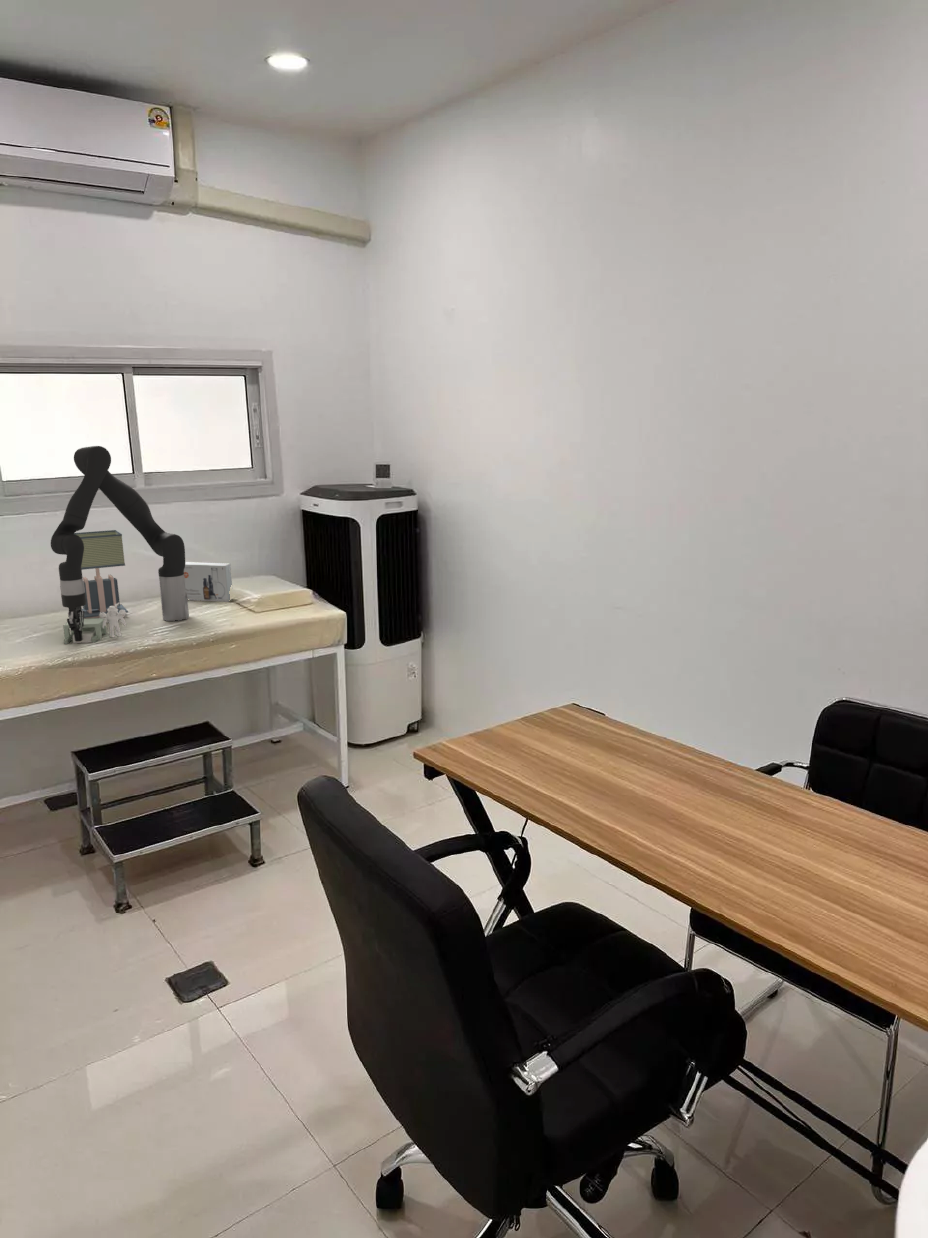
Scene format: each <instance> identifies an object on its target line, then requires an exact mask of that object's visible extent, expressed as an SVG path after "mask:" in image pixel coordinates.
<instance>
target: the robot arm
mask: <svg viewBox="0 0 928 1238" xmlns="http://www.w3.org/2000/svg"><path fill="white" fill-rule="evenodd" d="M73 461H74V465H75V466H76V468H77V469H78V471H80V472H81V474H83V475H84V476H83V479H82V480H81V482H80V483H79V486H78V487H77V488H76V490H75V491H74V492H73V494H72V495H71V497H70V499H69V501H68V503H67V506H66V508H65V512H64V515H63V518H62V520H61V522H60V523H59V524H58V526H57V527H56V529H55V530H54V533H53V534H52V536H51V539H50V549H51V550H52V552H53V553H55V554H57V555H61V556H62V555H65V556H66V560H65V561H63V562H60V563H59V564H58V574H59V575H58V576H59V589H60V590H59V591H60V596H61V605H62V607H63V608H68V612H67V616H68V618H66V622H68V625H69V627H70V628H69V630H70V629H71V630H70V632H71V631H74V637H75V641H76V642H78V641H82V640H83V637H82V627H83V626H84V615H85V612H84V611H83V610H82V609H83V606H84V605H86V595H85V587H84V582H83V577H84V576H83V572H82V571H83V570H82V569H81V565H82V559H83V553H84V544H83V541H82V539H81V538H80V537H79V536H78V535H74V533H77V532H78V531H81V530H83V529H84V528H85V527H86V523H87V520H88V517H89V513H90V510H91V507H92V505H93V503H94V500H95V498H96V495H97V493H98V491H99V490H100V492H101V493H103V495H104V496H105V497H106V498H107V499H108V500H109V501H110V502H111V503H112V504H113V505H114V507H115V508H116V510H117V511H119V513H121V514H122V516H123V517H124V518H125V519H126V520H127V522H129V523H130V524H131V525H132V526H133V527H134V528H135V530H137V531H138V533H140V535H141V536H142V537H143V539H144V540H145V542H146V543H147V544H148V546H149V547H150V548H151V551H153V552H154V553H155V554H156V555H158V556H160V557H162V559H163V560H162V566H160V567H159V568H158V581H159V591H160V600H161V601H160V602H161V613H162V614H161V615H162V620H163V621H165V620H166V621H167V622H176V621H175V620H178V621H183V620H182V619H186V620H188V618H189V616H190V611H189V600H188V599H187V592H186V590H185V579H184V568H185V562H186V548H185V543H184V540H183V538H182V537H181V536H180V535H178V534H175V533H170V532H166V531H165V530H164V529H163V528H162V527H161V526H159V524H158V523H157V522H156V521H155V519H154V517H153V515H152V512H151V509H150V507H149V505H148V503H147V502H146V500H144V498H143V497H142V496H141V495H140V494H139V492H137V490H135V489H134V488H133V487H132V486H130V485H129V484H127V483H126V482H124V481H122V480H121V479H119V478H117V477H116V476H115V475H114V474H113V473H111V472H110V471H109V469H110V467H111V464H112V456H111V454H110V451H109V450H108V449H107V448H106V447H104V446H101V445H92V446H85V447H80V448H78V449H76V451H75V452H74V453H73Z"/></svg>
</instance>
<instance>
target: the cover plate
mask: <svg viewBox="0 0 928 1238" xmlns="http://www.w3.org/2000/svg"><path fill="white" fill-rule="evenodd" d="M95 635H96V631H95V628H82V637H83V640H82V641H78V642H76V641H75V637H74V635H73V639H72V642H73V644H77V643H81V642H82V643H92V639H91V638H92V637H93V636H95Z"/></svg>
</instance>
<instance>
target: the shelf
mask: <svg viewBox="0 0 928 1238" xmlns="http://www.w3.org/2000/svg"><path fill="white" fill-rule="evenodd" d="M103 621H104V619H102V618H84V626H83V627H82V628H95V631H96V635H95V636H93V637H92V638H91V639H92V642H94V643H96V642H97V641H98V640H102V639H103V635H107V634H108V627H107V622H106V623H105V624H106V625H105V626H104V629H103V628H102V624H103ZM62 628H63V629H62V630H63V636H64V637H63V638H64V640H63V641H64V645H67V644H69V643H70V642H71V641H73V635H74V631H71V629H70V627H69V625H68V622H67V621H66V622H65V623H64V624H63V625H62ZM92 642H91V643H92Z"/></svg>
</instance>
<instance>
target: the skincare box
mask: <svg viewBox="0 0 928 1238" xmlns="http://www.w3.org/2000/svg"><path fill="white" fill-rule="evenodd" d="M231 569H232V568H231V563H228V562H224V563H223V562H202V561H201V562H197V561H194V562H193V561H185V568H184V579H185V590H186V592H187V599H190V600H189V601H200V600H201V601H202V602H205V601H206V602H222V603H223V602H225V603H228V602H230V601H229V600H230V594H229V591H230V587H231V585H232V586H233V580H232V571H231ZM201 601H200V602H201Z"/></svg>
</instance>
